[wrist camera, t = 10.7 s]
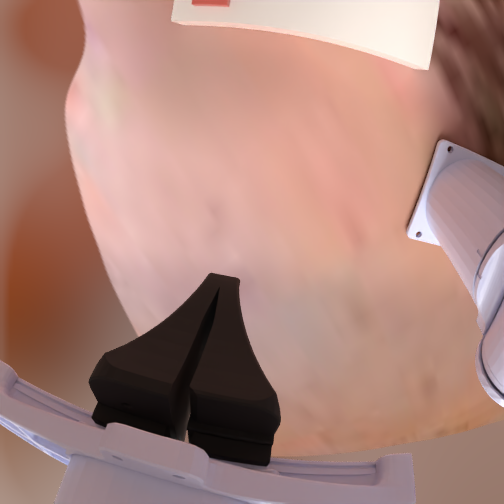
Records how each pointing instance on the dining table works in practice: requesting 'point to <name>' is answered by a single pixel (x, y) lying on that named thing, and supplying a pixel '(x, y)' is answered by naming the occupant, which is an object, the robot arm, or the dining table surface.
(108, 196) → the dining table surface
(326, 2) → the socket plate
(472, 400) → the dining table surface
